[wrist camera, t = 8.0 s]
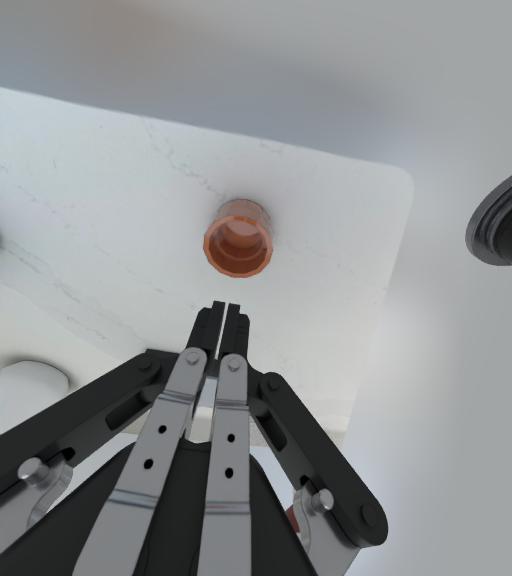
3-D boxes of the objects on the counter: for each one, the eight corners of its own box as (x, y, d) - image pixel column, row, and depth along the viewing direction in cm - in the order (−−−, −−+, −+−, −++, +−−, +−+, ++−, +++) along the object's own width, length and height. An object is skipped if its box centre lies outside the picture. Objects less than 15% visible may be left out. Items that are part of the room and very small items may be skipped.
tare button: (262, 408, 44) (262, 417, 43) (259, 415, 46) (259, 423, 45) (247, 406, 44) (247, 415, 43) (245, 413, 46) (244, 421, 45)
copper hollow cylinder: (278, 205, 23) (280, 223, 19) (263, 258, 26) (263, 283, 22) (217, 191, 22) (206, 207, 18) (211, 247, 26) (201, 271, 22)
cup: (85, 371, 43) (21, 460, 32) (74, 398, 50) (18, 479, 38) (1, 343, 38) (-107, 435, 27) (3, 378, 45) (-83, 462, 34)
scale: (229, 362, 39) (226, 378, 37) (221, 395, 46) (218, 411, 44) (146, 348, 38) (138, 364, 35) (151, 385, 45) (144, 401, 42)
